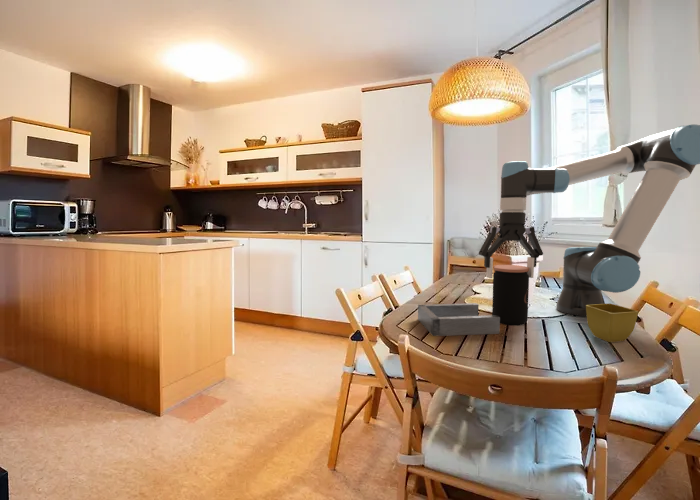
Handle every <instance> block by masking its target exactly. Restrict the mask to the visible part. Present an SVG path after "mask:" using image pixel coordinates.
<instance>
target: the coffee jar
mask: <svg viewBox="0 0 700 500" xmlns="http://www.w3.org/2000/svg"><path fill="white" fill-rule="evenodd" d="M493 270H494V271H493V274H492V309H491V311H492V312H491V313H492V315H497V316H499V317H500V324H501V325H505V326H513V327H516V326H517V327H518V326H525V324H526V322H528V317H529V313H528V312H529V289H530V288H529V287H530V286H529V285H530V277H529V275H528V274H527V273H528V271H529V267H527V265H526V266H525V265H516V264H498V265H493Z"/></svg>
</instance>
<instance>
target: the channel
mask: <svg viewBox="0 0 700 500" xmlns="http://www.w3.org/2000/svg"><path fill="white" fill-rule="evenodd" d="M479 306H480V305H479V304H478V303H474V302H473V303H472V302H471V303H470V302H469V303H439V304H438V303H436V304H434V303H433V304H431V303H430V304H418V305H417V320H418V321H419V322H420V323H421V325H422V326H423V325H424V326H423V327H424V328H425V329H426V330H427V331H428V332H429V333H430V334H431V336H432V337H441V336H442V337H446V336H470V335H475V336H477V335H496V334H498V335H499V334H500V331H501V329H500V327H501V325H500V317H499V316H497V315H479Z"/></svg>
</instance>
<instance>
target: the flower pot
mask: <svg viewBox="0 0 700 500" xmlns="http://www.w3.org/2000/svg"><path fill="white" fill-rule="evenodd" d="M586 314H587V316H586V321H587V322H586V323H587V326H588V328H589V330H590V332H591V334H592V336H594V337H595V338H597V339H600V340H603V341H605V342H608V343H616V342H617V343H618V342H619V343H620V342H625V341H626V340H627V339H628V338H630V336H631V335H632V333H633V332H634V329H635V327H636V323H637V319H638V316H639V310H637V309H636V310H635V309H632V308H628V307H625V306H621V305H618V304H614V303H611V302H610V303H609V302H608V303H605V304H594V305H586Z"/></svg>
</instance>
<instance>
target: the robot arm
mask: <svg viewBox="0 0 700 500" xmlns="http://www.w3.org/2000/svg"><path fill="white" fill-rule="evenodd" d="M697 165H700V124H688V125H680V126H677V127H676V128H674V129H669V130H665V131H662V132H657V133H654V134H651V135H649V136H646V137H644V138H640V139H639V140H636V141H633V142H631V143H628V144H623V145H621V146H618V147H617V148H616V149H615V150H612V151H610V152H609V151H608V152H605V153H602V154H597V155H594V156H589V157H587V158H582V159H578V160H575V161H571V162H566V163H562V164H558V165H555V166H551V167H546V168H531V167H529V163H528V162H527V161H520V160H518V161H517V160H516V161H508V162H505V163H503V164H502V168H501V175H500V179H501V180H500V204H499V205H500V207H499V211H501V212H500V213H499V226H498V227H496V226H490V227H489V230H488V234H487V236H486V238H485V239H484V241H483V243H482V245H481V248H480V249H479V252H478V255H479V256H482V257H483V259H484V268H486V275H485V276H486V278H488V279H493V274H494V271H493V270H494V258H493V257H492V256H493V255H494V254H495V253H496V251H497V250H498V249H499V248H500V247H501V246H502V245H503V243H505V242H512V241H514V242H519V244H520V245H521V246H522V247H523V249H524V250H525V251H526V252H527V254H528V255H529V256H527V258H526V259H527V260H526V267H529V271H528V273H527V274H528V275H529V279H532V278H533V279H534V271H535V268H536V267H537V259H538V258H539V257H540V256H543V255H544V251H543V249H542V247H541V246H540V245H541V244H540V242H539V241H538V238H537V236H536V232H535V231H536V230H535V227H534V226H527V227H526V226H525V224H526V215H527V214H526V212H525V211H526V210H527V196H532V195H539V194H549V193H550V194H556V193H558V194H559V193H563V192H565V191H566V190H567V189H568V187H569V186H570V185H571V186H572V185H575V184H576V185H577V184H578V183H582V182H587V181H591V180H596V179H599V178H603V177H607V176H610V175H611V176H612V175H616V174H622V175H627V174H628V175H629V174H632V173H637V172H645V174H644V175H643V177H642V179H641V181H640V182H639V184H638V186H637V188H636V189H635V191H634V192H633V195H632V196H631V198H630V200H629V202H628V203H627V205H626V206H625V208H624V210H623V212H622V213H621V215H620V217H619V219H618V221H616V224H615V226H614V228H613V229H612V231H611V233H610V235H609V236H608V238H607V239H606V240H604V241H600V242H599V243H598V244H597V246H579V247H578V246H575V247H574V246H573V247H567V248H566V249H565V250H564V254H563V255H564V256H563V274H562V275H563V276H562V289H561V292H560V294H559V295H558V299H557V301H556V310H557V311H559V312H561V313H565V314H567V315H573V316H581V317H587V314H586V305H594V304H606V303H605V298H604V295H603V292H608V293H614V294H615V293H616V294H617V293H623V292H627V291H628V290H630V289H632V288H633V287H634V286H636V284H637V283H638V282H639V279H640V277H641V270H640V265H639V263H640V261H641V258H642V257H641V255H640V253H639V251H640V249H641V248H642V246H643V244H644V242H645V241H646V239H647V237H648V235H649V234H650V233H651V231H652V229H653V227H654V225H655V223H656V222H657V220H658V219H659V216H660V215H661V213H662V211H663V210H664V208H665V206H666V205H667V203H668V202H669V200H670V197H671V196H672V194H673V193H674V191H675V190H676V188H677V186H678V184H679V183H680V182H681V180H685V179H688V178H689V177H690V176H691V174H692V172H693V171H694V169H695V167H696V166H697ZM498 233H499V236H497V238H496V235H497V234H498ZM524 234H527V237H528V240H529V241H527V238H526V237H525V235H524ZM495 238H496V240H495ZM494 240H495V241H494ZM493 241H494V242H493ZM492 242H493V243H492ZM602 291H603V292H602Z"/></svg>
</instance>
